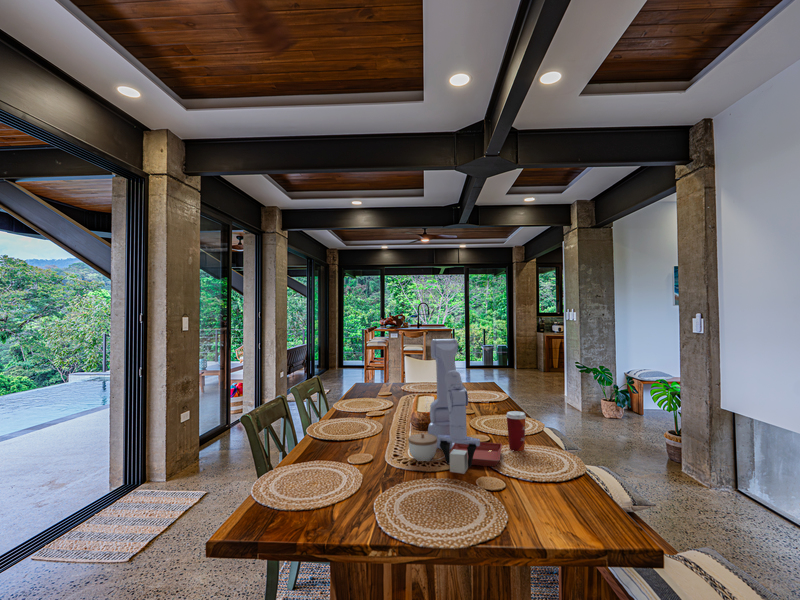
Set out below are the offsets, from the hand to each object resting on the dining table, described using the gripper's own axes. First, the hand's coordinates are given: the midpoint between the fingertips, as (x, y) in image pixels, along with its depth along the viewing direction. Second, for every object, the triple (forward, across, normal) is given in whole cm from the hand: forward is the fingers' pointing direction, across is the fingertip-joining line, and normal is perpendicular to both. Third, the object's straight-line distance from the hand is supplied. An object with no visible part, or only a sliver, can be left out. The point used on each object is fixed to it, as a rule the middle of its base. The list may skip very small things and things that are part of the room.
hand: (458, 464), depth 137 cm
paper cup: (+2, +16, +28) cm, 32 cm away
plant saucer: (+2, +3, +14) cm, 14 cm away
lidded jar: (+2, -15, +6) cm, 16 cm away
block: (+2, 0, 0) cm, 2 cm away
